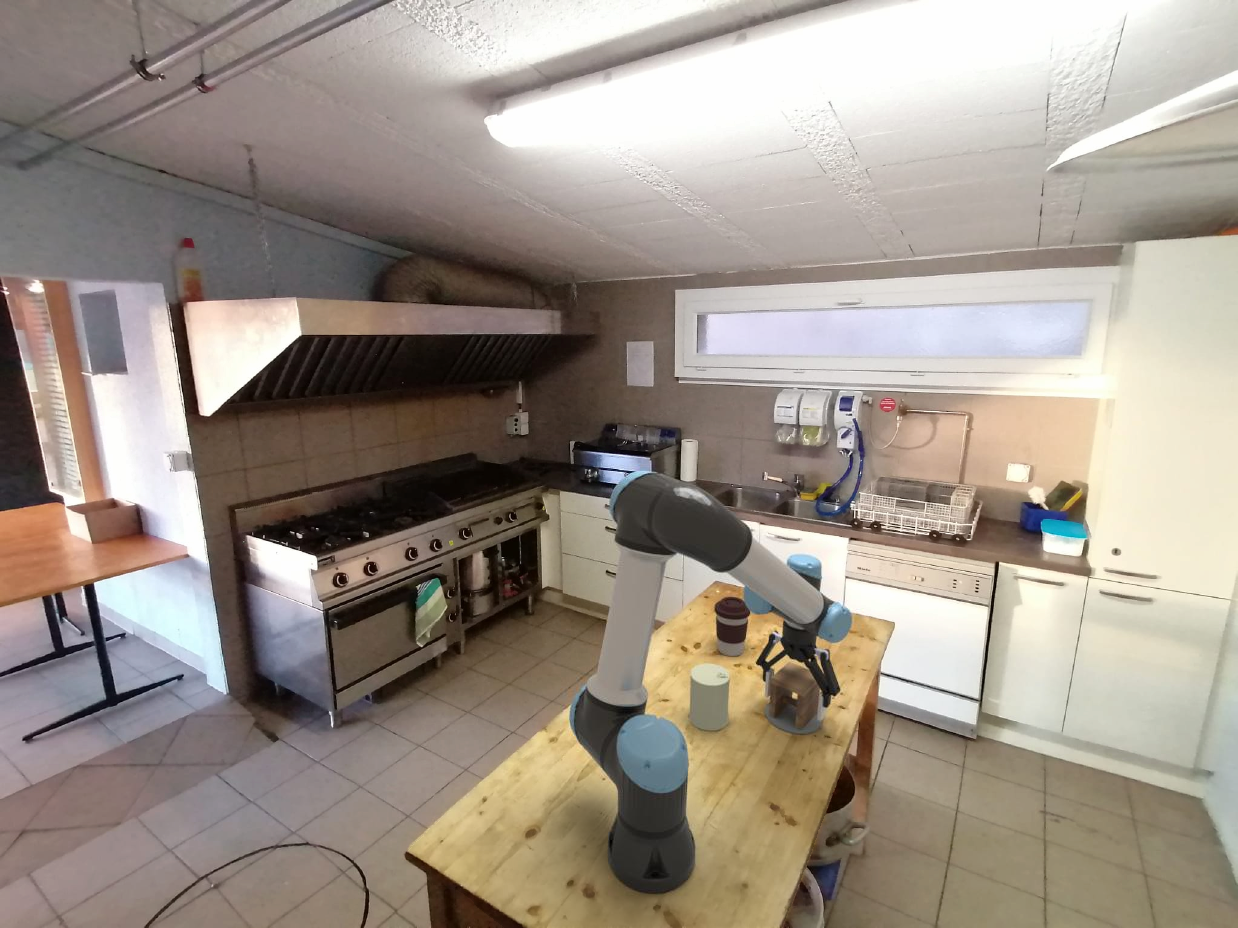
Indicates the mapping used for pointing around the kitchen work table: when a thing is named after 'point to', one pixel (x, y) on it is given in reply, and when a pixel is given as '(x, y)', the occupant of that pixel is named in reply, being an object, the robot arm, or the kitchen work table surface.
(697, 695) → the can
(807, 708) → the wooden stool
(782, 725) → the rubber mat
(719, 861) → the kitchen work table surface
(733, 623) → the coffee cup
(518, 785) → the kitchen work table surface
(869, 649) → the kitchen work table surface
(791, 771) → the kitchen work table surface
